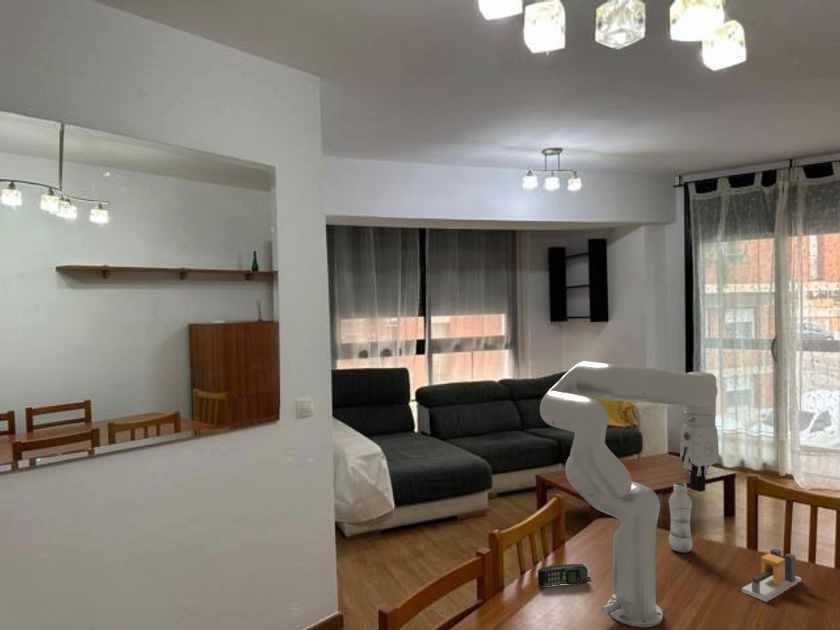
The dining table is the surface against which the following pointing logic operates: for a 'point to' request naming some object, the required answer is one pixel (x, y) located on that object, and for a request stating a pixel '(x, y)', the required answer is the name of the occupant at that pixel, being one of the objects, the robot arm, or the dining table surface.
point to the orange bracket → (774, 567)
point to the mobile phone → (562, 575)
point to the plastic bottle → (680, 519)
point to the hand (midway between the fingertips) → (697, 489)
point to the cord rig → (766, 587)
